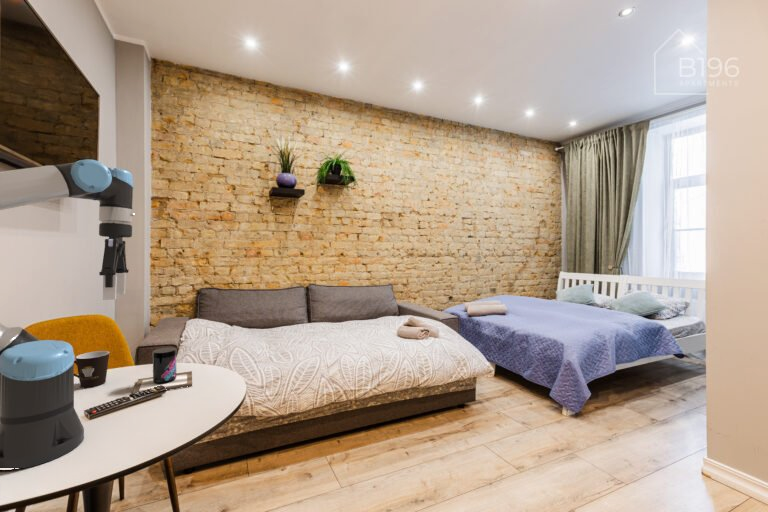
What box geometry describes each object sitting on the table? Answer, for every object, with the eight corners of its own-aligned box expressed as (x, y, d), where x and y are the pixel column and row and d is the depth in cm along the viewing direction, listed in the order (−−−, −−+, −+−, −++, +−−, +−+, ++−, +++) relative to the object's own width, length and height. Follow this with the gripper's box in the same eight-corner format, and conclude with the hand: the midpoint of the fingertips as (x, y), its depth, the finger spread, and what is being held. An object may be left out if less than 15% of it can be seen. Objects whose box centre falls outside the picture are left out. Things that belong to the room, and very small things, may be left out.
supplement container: (156, 386, 110) (156, 354, 110) (150, 381, 115) (150, 350, 114) (179, 380, 115) (179, 349, 115) (172, 375, 120) (172, 346, 120)
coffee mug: (116, 380, 118) (116, 351, 118) (92, 390, 110) (92, 359, 109) (85, 378, 119) (85, 350, 119) (60, 388, 111) (59, 357, 111)
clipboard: (192, 386, 113) (192, 381, 113) (132, 396, 105) (132, 391, 105) (191, 373, 125) (191, 369, 125) (138, 381, 117) (138, 376, 117)
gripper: (124, 220, 89) (122, 301, 89) (138, 227, 111) (137, 292, 111) (87, 218, 86) (85, 302, 86) (109, 225, 108) (108, 293, 108)
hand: (114, 296), depth 98 cm, fingers open, 13 cm apart
